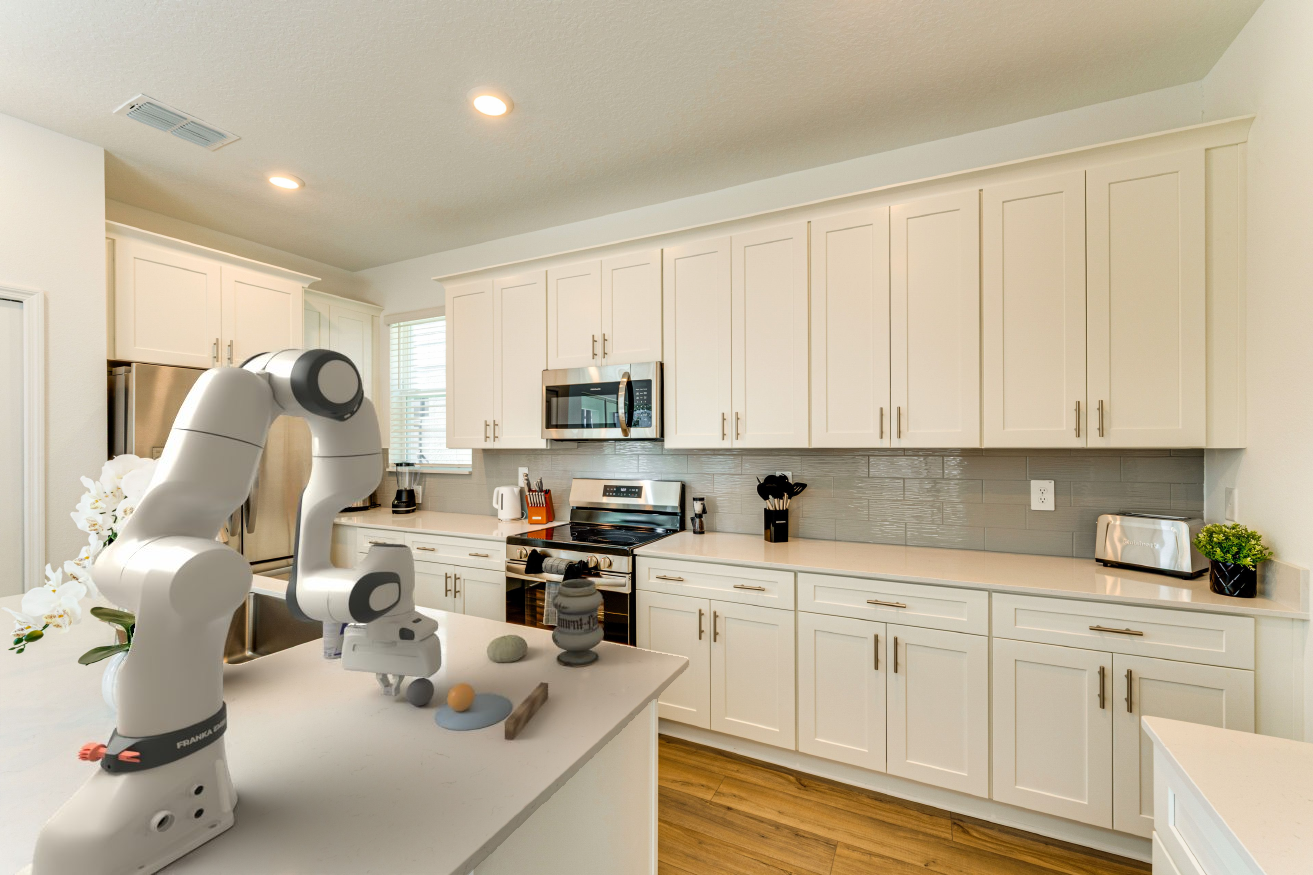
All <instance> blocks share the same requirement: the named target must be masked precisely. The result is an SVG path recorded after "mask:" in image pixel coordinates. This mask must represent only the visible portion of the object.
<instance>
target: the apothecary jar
mask: <svg viewBox="0 0 1313 875" xmlns="http://www.w3.org/2000/svg"><path fill="white" fill-rule="evenodd" d="M595 582H596V581H594V580H592V579H587V578H586V579H585V578H577V579H568V580H565V581H562V582H561V583H560V584H559V585H558V591H557V592H556V593H555V594H554V595H553V596H552V599H551V600H552V601H551V602H552V603H551V604H552V606H553V608H554V609H555V610H556V615H557V616H556V617H557V621H556V622H557V623H556V627H555V628H554V629H553V631H552V634H551V640H552V642H553V643H554V645H555V646H556V647H557V648H559V649H561V650H564V651H563V652H561V653H559V654H558V655H557V657H556V662H557V663H558V665H561V666H563V667H567V666H568V667H570V668H584V667H588V666H592V665H594V664H595V663H597V662H598V660H599V657H600V656H599V654H598V653H597V652H596V651H593V650H592V649H593V648H594V647H596V646H598V645H599V644H600V643H601V642H602V641H603V639H604V635H605V634H604V630H603V627H602V626H601V625H600V624H599V616H598V611H599V607H601V605H602V604H603V601H604V600H603V599H604V598H603V594H601V592H600V591H598V590H597V588H596V583H595Z"/></svg>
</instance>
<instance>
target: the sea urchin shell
mask: <svg viewBox="0 0 1313 875" xmlns="http://www.w3.org/2000/svg"><path fill="white" fill-rule="evenodd" d="M527 651H528V643H527V640H525V639H524V637H522V636H519V635H516V634H508V635H503V636H499V637H497V638H495V639H493V640H492V641H490V642H489V644H488V646H487V648H486V654H487V657H488V659H490V660H491V661H493V662H495V663H510V662H515V661H518V660H519V659H521V658H523V657H524V656H525V655H526V653H527Z"/></svg>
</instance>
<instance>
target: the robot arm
mask: <svg viewBox="0 0 1313 875" xmlns="http://www.w3.org/2000/svg"><path fill="white" fill-rule="evenodd" d="M280 416H288V417H295V418H303V420H304V421H305V422H306V424H307V426H308V427H309V430H310V432H311V455H312V456H311V460H312V463H311V473H310V476H309V481H308V483H307V485H305V487H303V489H302V491H301V493H300V495H299V499H298V506H297V511H296V522H295V533H294V544H293V545H294V546H293V557H292V558H293V559H292V566H291V572H290V576H289V580H288V584H287V586H286V591H285V604H286V606H287V610H288V612H289V613H290V614H291V615H290V616H292V617H293V618H294V619H295V620H297V621H300V622H306V623H309V622H310V623H311V622H313V623H315V622H317V623H318V622H321V623H322V622H323V621H326V622H336V623H349V624H348V625H347V626H346V628H345V629H344V641H343V647H342V654H341V657H340V664H341V667H342V669H343V670H345V671H351V672H360V673H370V674H371V673H372V674H373V673H375V679H376V681H377V682H378V685H379V686H380V687H381V691H380V693H381V695H382V696H389V697H396V696H398V695H399V694H400V693H401V684H402V683H403V680H405V677H415V678H426V679H429V678H431V677H432V676H434V675H435V674H437V673H438V672H439V671H440V669H441V668H442V647H441V645H442V644H441V640H440V638H439V636H438V635H437V634H436V632H437V631H438V630H439V623H438V621H437V620H436V619H433V618H431V617H429V616H427V615H425V614H422V613H421V612H419V611H417V610H416V606H415V605H416V604H415V601H414V598H413V595H414V589H415V586H416V585H415V584H416V579H415V578H416V575H415V562H414V556H413V555H414V554H413V552H412V549H411V547H410V546H408V545H406V544H404V543H401V544H400V543H385V542H384V543H381V542H380V543H375V544H371V545H370V546H369V548H368V550H367V555H366V556H365V557H364V558H363V559H362V560H361V561H360V562H359V563H357V564H356V565H355V566H352V568H346V567H345V568H344V567H336V566H335V565H333V563H332V561H331V547H332V536H333V526H334V525H333V524H334V521H335V519H336V517H337V516H338V514H339V513H340V512H341V511H343V510H344V509H345V508H347V507H350V506H352V505H355V504H357V503H360V502H361V501H363V500H365V499H366V498H368V497H369V496H370V495H371V494H373V493H374V492H375V490H377V488H378V487H379V485H380V484H381V483H382V477H383V472H384V471H383V470H384V463H383V461H384V459H383V446H382V445H383V444H382V436H381V435H382V434H381V431H380V424H379V421H378V415H377V413H376V408H375V406H374V403H373V402H372V401H371V399H369V398H368V397H367V396H365V391H364V388H363V380H362V378H361V373H360V371H359V370H358V368H357V366H356V364H355V363H354V362H353V361H352V359H350V358H349V356H347V355H346V354H343V353H341V352H338V351H335V350H330V349H326V348H313V349H303V348H302V349H299V348H288V349H281V350H279V349H278V350H275V351H266V352H264V351H263V352H261V353H257V354H255V355H253V356H251V357H249V358H247V359H246V360H244V361H243V362H242V363H241V364H239V365H238V366H217V367H213V368H210V369H208V370H206V371H204V372H202V374H201V375H200V376H199V378H197V381H195V383H194V384H193V386H192V388H191V389H190V391H189V392H188V394H187V396H186V397H185V399H184V402H183V403H182V405H181V407H180V409H179V411H178V413H177V415H176V418H175V420H174V423H173V424H172V427H171V430H170V433H169V436H168V438H167V441H166V443H165V446H164V448H163V451H162V453H161V456H160V459H159V461H158V463H157V467H156V469H155V472H154V473H153V474H154V475H153V476H152V479H151V481H150V484H149V485H148V487H147V489H146V491H145V492H144V494H143V496H142V498H141V499H140V501H139V502H138V504H137V505H136V507H135V509H133V512H132V513H131V514H130V516H129V517H128V518H127V521H126V522H125V523H124V525H123V527H122V529H121V530H120V532H119V533H118V535H117V537H116V538H115V539H114V540H113V542H111V543H110V544H109V545H108V546H106V547H105V548H104V550H102V551H101V552H100V554H99V555H98V556H97V558H96V560H95V562H94V564H93V568H92V579H93V582H94V585H95V586H96V588H97V590H98V591H99V593H100V594H101V595H102V596H103V597H104V598H105V599H106V600H107V602H109V603H111V604H112V605H114V606H116V607H118V608H122V609H124V610H127V611H130V612H132V613H133V616H135V628H134V633H133V637H132V641H131V645H130V648H129V651H128V654H127V657H126V659H125V660H124V659H123V661H122V662H121V664H120V665H119V667H118V668H117V671H116V727H114V729H113V730H112V733H111V736H110V737H109V740H108V741H107V742H108V743H107V744H103V743H99V744H98V743H97V742H92V741H91V742H88V743H86V744H84V745H83V746H82V747H81V748H80V750H78V755H77V757H78V759H79V760H81V761H83V762H84V761H85V762H86V761H87V762H88V761H89V762H92V763H94V762H95V763H96V762H98V761H100V763H99V765H100V766H99V767H98V768H97V770H95V771H94V772H93V773H92V775H91V776H90V777H88V778H87V780H86V781H84V783H83V784H82V785H81V786H80V787H79V788H78V789H77V790H76V791H75V792H74V793H73V794H72V795H71V796H70V798H68V800H67V801H66V802H64V803H63V805H62V806H61V807H60V808H59V809H58V810H57V811H55V813H54V814H53V815H52V816H51V817H50V818H49V819H48V820H47V821H46V822H45V823H44V824H43V826H42V827H41V829H40V831H39V833H38V836H37V839H36V842H35V846H34V851H33V855H32V856H33V858H32V862H30V863H29V864H27V865H25V866H24V867H23V868H21V869H20V870H18V871H16V873H14V874H13V875H153V874H154V873H156V872H158V871H160V870H161V869H163V868H164V867H166V866H168V865H170V864H171V863H173V862H175V861H176V860H178V859H180V858H181V857H183V856H185V855H187V854H188V853H190V852H192V851H193V850H195V849H196V848H198V847H200V846H202V845H203V844H204V843H206V842H208V841H210V840H211V839H213V838H215V837H216V836H218V835H220V834H222V833H224V832H225V831H227V830H228V829H230V828H231V827H232V826H233V825H234V824H235V817H234V809H235V807H236V805H237V803H238V800H239V799H238V798H239V797H238V796H239V795H238V794H237V791H236V789H235V786H234V784H233V781H232V777H231V774H230V770H229V764H228V760H227V759H228V758H227V753H226V744H225V732H226V731H227V729H228V716H227V715H228V713H227V712H228V711H227V703H226V701H225V700H224V653H225V646H226V642H227V638H228V634H229V630H230V627H231V625H232V624H231V623H232V622H233V621H232V620H233V617H234V614H235V612H236V610H237V609H238V608H239V607H240V606H241V605H243V603H244V602H245V601H246V599H247V598H248V596H249V594H250V592H251V590H252V589H251V588H252V587H253V580H254V574H253V568H252V566H251V564H250V562H249V560H248V559H247V558H246V556H244V555H243V554H241V553H240V552H238V551H237V550H236V549H235V548H232V547H231V546H230V545H227V544H225V543H224V542H221V541H219V540H216V538H217V537H218V535H219V533H220V531H221V530H222V528H223V527H224V525H225V524H226V522H227V521H228V520H229V518H230V517H231V516H232V515H233V513H234V512H235V511H236V510H238V509H239V508H240V507H241V506H242V505H243V504H244V503H245V502H246V501H247V499H248V497H249V495H250V493H251V489H252V486H253V483H254V479H255V476H256V473H257V471H258V467H259V464H260V461H261V458H262V455H263V453H264V450H265V446H266V442H267V439H268V437H269V436H268V435H269V432H270V429H271V427H272V425H273V424H274V422H275V421H276V420H277V418H278V417H280ZM388 675H392V680H394V682H393V683H392V682H391V681H390V679H389V676H388Z"/></svg>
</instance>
